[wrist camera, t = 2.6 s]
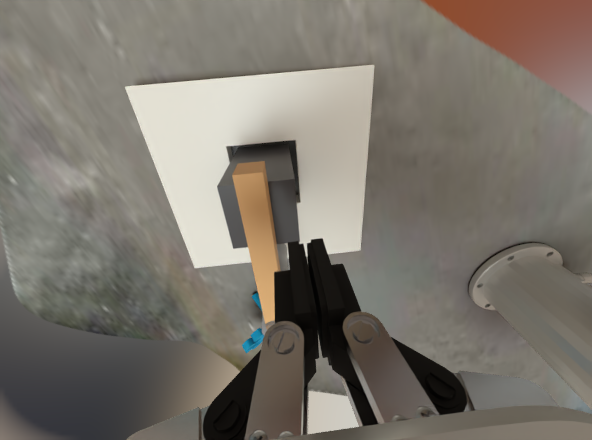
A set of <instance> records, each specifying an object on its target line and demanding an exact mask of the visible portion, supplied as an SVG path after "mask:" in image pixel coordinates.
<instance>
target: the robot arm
mask: <svg viewBox="0 0 592 440" xmlns="http://www.w3.org/2000/svg"><path fill="white" fill-rule="evenodd" d="M287 243H288V253H289V263H290V270H286V271H277V272H274V301H275V324H273V325H272V326H271V327H270V328H268V330H267V331H266V333H265V335H264V338H263V342H262V347H261V350H260V351H259V352H258V353H257V354H256V356H255V357H254V358H253V359H252V360H251V361H250V362H249V363H248V364H247V365H246V366H245V367H244V368H243V369H242V371H241V372H240V373H239V374H238V375H237V376H236V377H235V378H234V379H233V380H232V382H230V383H229V385H228V386H227V387H226V388H225V389H224V390H223V391H222V392H221V393H220V394H219V395H218V396H217V397H216V398H215V399H214V401H213V402H212V404H211V405H210V406H208V407H205V408H202V409H200V408H199V407H198V408H195V409H193V410H190V411H188V412H185V413H183V414H180V415H178V416H175V417H173V418H171V419H168V420H166V421H163V422H161V423H158V424H156V425H153V426H151V427H148V428H146V429H143V430H141V431H139V432H137V433H135V434H133V435H132V436H130V437H129V438H128V439H127V440H592V414H589V413H586V412H583V411H578V410H573V409H569V408H564V407H559V405H558V404H557V402H556V401H555V400H554V399H553V397H552V396H551V395H550V394H549V393H548V392H547V391H546V390H545V389H543V388H542V387H541V386H540V385H538V384H536V383H534V382H532V381H531V380H528V379H524V378H521V377H513V376H504V375H495V374H486V373H477V372H468V371H459V372H458V373H452V372H450V371H449V370H447V369H446V368H444V367H443V366H441V365H439V364H437V363H436V362H434V361H432V360H430V359H429V358H427V357H425V356H423V355H421V354H420V353H418V352H416V351H414V350H413V349H411V348H409V347H407V346H406V345H404V344H402V343H400V342H399V341H397V340H395V339H393V338H392V337H390V335H389V334H388V332H387V331H386V329H385V327H384V326H383V324H382V323H381V322H380V320H379V319H378V318H376V317H375V316H374V315H372V314H370V313H367V312H361V309H360V307H359V304H358V301H357V299H356V296H355V294H354V291H353V288H352V286H351V283H350V281H349V278H348V275H347V273H346V270H345V268H344V265H343V264H336V265H331V263H330V260H329V257H328V254H327V250H326V247H325V244H324V241H323V239H322V238H320V239H311V243H307V254H308V264H307V259H306V254H305V249H304V244H299V241H294V242H287ZM562 265H563V260H562V257H561V255H560V253H559V252H558V251H556V250H555V249H553V248H551V247H550V246H548V245H545V244H541V243H528V244H522V245H518V246H514V247H512V248H509V249H506V250H504V251H502V252H500V253H498V254H497V255H495V256H494V257H492V258H491V259H489V260H488V261H487V262H485V263H484V264H483V265H482V266H481V267H480V268H479V269H478V270H477V272H476V273H475V274H474V276H473V277H472V280H471V282H470V285H469V295H470V297H471V299H472V300H473V301H474V302H475V303H476V304H477V305H478V306H479V307H481V308H484V309H489V310H497V311H498V312H499V313H500V314H501V315H502V316H503V317H504V318H505V319H506V320H507V321H508V323H509V324H510V325H511V326H512V327H513V328H514V329H515V330H516V331H517V332H518V333H519V334H520V335H521V336H522V337H523V338H524V339H525V340H526V341H527V342H528V343H529V345H530V346H531V347H532V348H533V349H534V350H535V351H536V352H537V353H538V354H539V355H540V356H541V357H542V358H543V359H544V360H545V361H546V362H547V363H548V364H549V365H550V367H551V368H552V369H553V370H554V371H555V372H556V373H557V374H558V375H559V376H560V377H561V378H562V379H563V380H564V381H565V382H566V383H567V384H568V385H569V386H570V387H571V389H572V390H573V391H574V392H575V393H576V394H577V395H578V396H579V397H580V398H581V399H582V400H583V401H584V402H585V403H586V404H587V405H588V406H589V407H590V408H591V409H592V286H591V285H589V284H587V283H591V282H592V275H591V274H589V273H579V274H574V273H572V272H570V271H569V270H567V269H566V268H564V267H563V266H562ZM318 335H319V340H320V346H321V351H322V356H323V358H325V357H328V362H329V365H332V369H333V370H334V371H335V372H336V373H338V374H339V375H340V376H341V378H342V382H343V385H344V387H345V390H346V393H347V395H348V398H349V401H350V403H351V406H352V409H353V411H354V414H355V416H356V419H357V422H358V424H359V427H356V428H349V429H342V430H335V431H328V432H321V433H315V434H308V389H309V385H308V383H309V381H310V380H311V378H312V377H313V376H314V374H315V373H316V361H315V359H317V358H319V350H318Z"/></svg>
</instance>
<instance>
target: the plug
mask: <svg viewBox="0 0 592 440" xmlns="http://www.w3.org/2000/svg"><path fill="white" fill-rule="evenodd" d="M259 161H265V167H266V174H267V181H268V188H269V195H270V202H271V208H272V215H273V222H274V229H275V236H276V243H277V244H284V243H287V242H294V241H299V242H300V236H299V224H298V212H297V201H296V189H295V178H294V172H293V167H292V162H291V156H290V151H289V145H288V143H286V144H275V145H265V146H254V147H244V148H238V149H237V151H236V153H235V155H234V157H233V158H232V160H231V162H230V164H229V166H228V167H227V169H226V171H225V173H224V175H223V176H222V178H221V180H220V182H219V184H218V186H217V189H218V193H219V196H220V200H221V204H222V208H223V212H224V215H225V219H226V223H227V227H228V231H229V234H230V238H231V242H232V246H233V249H236V248H246V247H248V244H247V240H246V235H245V231H244V226H243V222H242V217H241V213H240V208H239V204H238V199H237V195H236V190H235V186H234V181H233V177H232V174H233V172H234V170H235V168H236V166H237V164H239V163H249V162H259Z"/></svg>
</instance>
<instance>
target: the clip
mask: <svg viewBox="0 0 592 440" xmlns="http://www.w3.org/2000/svg"><path fill="white" fill-rule="evenodd" d="M232 177H233V181H234V186H235V190H236V195H237V199H238V204H239V208H240V213H241V217H242V222H243V226H244V231H245V235H246V240H247V244H248V249H249V253H250V258H251V262H252V267H253V271H254V276H255V280H256V285H257V289H258V294H259V298H260V303H261V307H262V312H263V316H262V333H263V335H265V333H266V331H267V330H268V328H270V327H271V326H272V325H273V324H275V301H274V272H277V271H281V270H280V263H279V257H278V250H277V243H276V236H275V229H274V222H273V215H272V208H271V202H270V195H269V188H268V181H267V174H266V167H265V161H259V162H249V163H239V164H237V166H236V168H235V170H234V172H233V174H232Z"/></svg>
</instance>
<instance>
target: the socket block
mask: <svg viewBox="0 0 592 440" xmlns="http://www.w3.org/2000/svg"><path fill="white" fill-rule="evenodd" d="M373 78H374V65H365V66H353V67H342V68H331V69H319V70H308V71H297V72H286V73H274V74H263V75H252V76H240V77H229V78H218V79H206V80H195V81H184V82H173V83H161V84H150V85H139V86H127V87H125V88H126V91H127V94H128V96H129V99H130V101H131V104H132V107H133V109H134V112H135V114H136V117H137V120H138V122H139V125H140V127H141V130H142V133H143V135H144V138H145V140H146V143H147V145H148V148H149V151H150V153H151V156H152V158H153V161H154V164H155V166H156V169H157V171H158V174H159V177H160V179H161V182H162V184H163V187H164V190H165V192H166V195H167V197H168V200H169V202H170V205H171V208H172V210H173V213H174V215H175V218H176V221H177V223H178V226H179V228H180V231H181V234H182V236H183V239H184V241H185V244H186V247H187V249H188V252H189V254H190V257H191V259H192V262H193V265H194V267H195V268H200V267H210V266H219V265H229V264H238V263H248V262H251V258H250V253H249V249H248V247H246V248H236V249H233V246H232V242H231V238H230V234H229V231H228V227H227V223H226V219H225V215H224V212H223V208H222V204H221V200H220V196H219V193H218V189H217V186H218V184H219V182H220V180H221V178H222V176H223V175H224V173H225V171H226V169H227V167H228V166H229V164H230V162H231V160H232V158H233V155H232V150H231V146H236V145H247V144H258V143H268V142H279V141H289V140H295V148H296V161H297V174H298V187H299V195H296V201H297V212H298V224H299V236H300V242H299V244H304V249H305V254H306V256H308V254H307V243H311V239H320V238H322V239H323V241H324V244H325V247H326V250H327V254H333V253H343V252H352V251H360V249H361V236H362V223H363V209H364V196H365V183H366V170H367V157H368V144H369V131H370V118H371V105H372V91H373ZM277 250H278V257H279V263H280V270H281V271H286V270H288V258H289V253H288V243H284V244H277Z"/></svg>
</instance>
